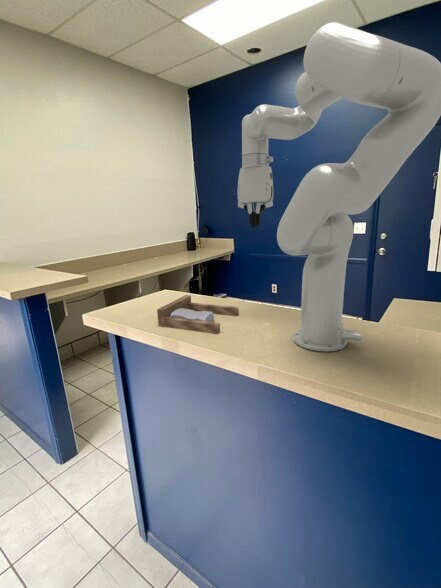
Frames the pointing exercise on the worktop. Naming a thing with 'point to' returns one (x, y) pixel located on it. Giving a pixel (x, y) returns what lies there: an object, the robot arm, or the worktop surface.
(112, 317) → the worktop surface
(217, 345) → the worktop surface
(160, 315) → the brown u-shaped frame
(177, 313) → the stone block
